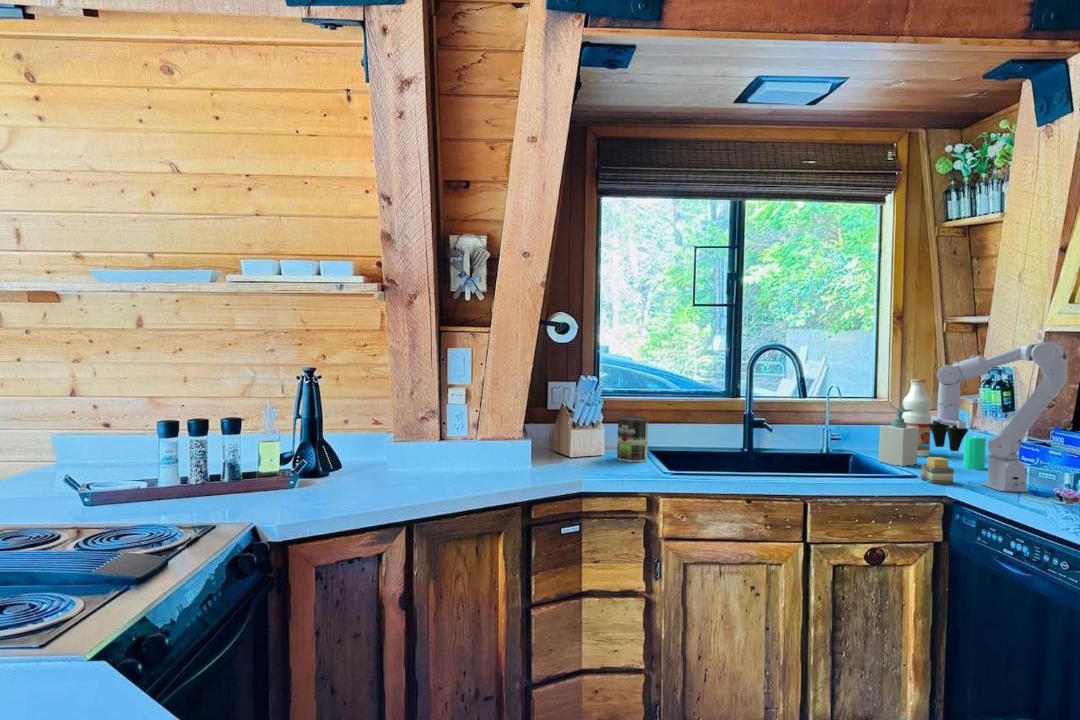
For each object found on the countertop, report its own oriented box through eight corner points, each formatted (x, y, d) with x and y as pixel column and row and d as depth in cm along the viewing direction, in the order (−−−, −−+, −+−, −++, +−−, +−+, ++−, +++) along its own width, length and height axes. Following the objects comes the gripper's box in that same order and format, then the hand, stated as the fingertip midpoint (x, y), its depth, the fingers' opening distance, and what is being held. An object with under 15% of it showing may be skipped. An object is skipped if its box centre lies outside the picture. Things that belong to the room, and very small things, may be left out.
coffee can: (636, 463, 225) (637, 421, 225) (610, 459, 232) (611, 418, 231) (653, 459, 233) (654, 418, 232) (627, 455, 240) (628, 415, 239)
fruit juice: (901, 451, 259) (904, 377, 258) (929, 454, 254) (932, 379, 253) (899, 455, 251) (902, 379, 250) (929, 458, 246) (932, 380, 245)
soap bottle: (902, 467, 228) (905, 410, 227) (878, 462, 236) (880, 407, 235) (917, 464, 233) (920, 409, 232) (893, 460, 240) (895, 406, 239)
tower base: (953, 483, 203) (953, 468, 203) (931, 483, 203) (932, 468, 203) (941, 479, 209) (941, 464, 209) (920, 478, 209) (921, 464, 209)
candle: (988, 470, 226) (990, 433, 225) (970, 469, 226) (971, 433, 225) (977, 466, 232) (978, 431, 231) (959, 466, 232) (960, 430, 231)
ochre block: (947, 473, 204) (948, 459, 204) (934, 472, 204) (934, 459, 204) (939, 470, 208) (940, 457, 208) (926, 470, 208) (927, 456, 208)
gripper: (922, 401, 216) (920, 444, 216) (949, 406, 201) (947, 452, 202) (944, 402, 216) (942, 445, 216) (973, 407, 201) (971, 453, 202)
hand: (946, 448), depth 209 cm, fingers open, 7 cm apart
